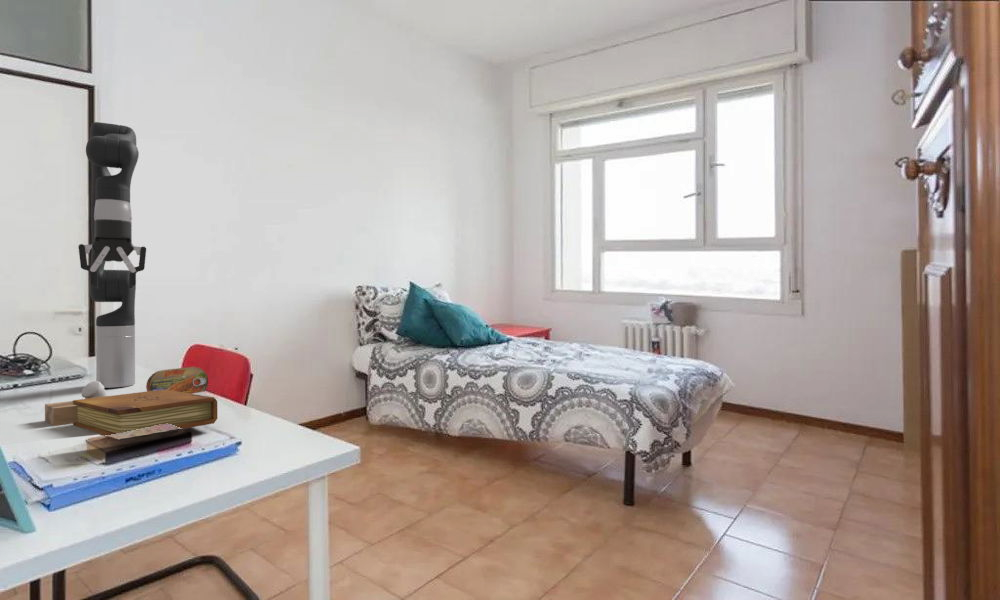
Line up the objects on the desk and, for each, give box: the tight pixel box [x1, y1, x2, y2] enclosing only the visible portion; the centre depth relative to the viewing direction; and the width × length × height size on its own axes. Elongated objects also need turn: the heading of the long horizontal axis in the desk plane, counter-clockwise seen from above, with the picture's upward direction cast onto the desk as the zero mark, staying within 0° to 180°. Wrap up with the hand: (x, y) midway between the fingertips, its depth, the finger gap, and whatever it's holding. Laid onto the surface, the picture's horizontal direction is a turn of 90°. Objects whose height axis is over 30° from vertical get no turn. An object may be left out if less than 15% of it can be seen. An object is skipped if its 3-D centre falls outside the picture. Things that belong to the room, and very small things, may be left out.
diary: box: [72, 390, 218, 437], centre depth 120 cm, size 23×19×6 cm
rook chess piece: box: [81, 380, 109, 399], centre depth 131 cm, size 4×4×8 cm
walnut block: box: [44, 400, 78, 427], centre depth 124 cm, size 8×8×4 cm
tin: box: [145, 366, 209, 394], centre depth 151 cm, size 15×3×8 cm, turn 144°
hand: (113, 287), depth 139 cm, fingers open, 6 cm apart
